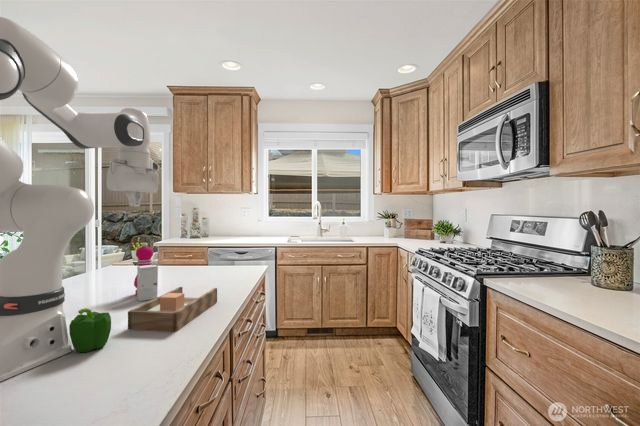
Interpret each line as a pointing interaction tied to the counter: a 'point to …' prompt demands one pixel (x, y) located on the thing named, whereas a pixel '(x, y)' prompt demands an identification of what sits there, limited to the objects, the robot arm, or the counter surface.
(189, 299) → the box
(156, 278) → the skincare box
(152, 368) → the counter surface
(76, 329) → the bell pepper
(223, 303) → the counter surface
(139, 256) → the pepper mill
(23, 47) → the robot arm
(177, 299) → the block
